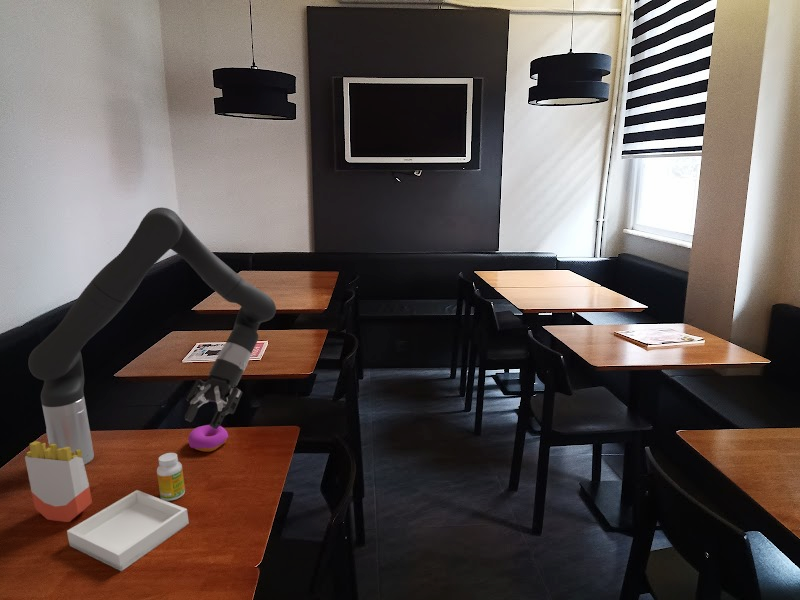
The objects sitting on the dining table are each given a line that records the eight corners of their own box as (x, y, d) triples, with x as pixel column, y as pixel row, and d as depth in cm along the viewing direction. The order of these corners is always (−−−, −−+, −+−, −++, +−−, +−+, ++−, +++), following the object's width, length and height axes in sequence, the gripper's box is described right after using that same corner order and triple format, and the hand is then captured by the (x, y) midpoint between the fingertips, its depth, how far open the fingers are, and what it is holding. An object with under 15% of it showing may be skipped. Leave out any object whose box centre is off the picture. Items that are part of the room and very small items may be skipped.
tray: (69, 545, 112) (66, 530, 111) (138, 503, 126) (136, 489, 125) (121, 571, 104) (118, 555, 104) (188, 523, 118) (186, 509, 117)
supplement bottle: (176, 502, 126) (171, 464, 123) (155, 500, 127) (150, 461, 125) (189, 489, 131) (185, 451, 129) (169, 487, 132) (164, 450, 130)
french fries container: (53, 506, 125) (39, 433, 121) (95, 511, 123) (82, 437, 119) (36, 518, 121) (21, 443, 117) (79, 523, 119) (66, 447, 115)
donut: (211, 457, 146) (209, 441, 145) (180, 450, 149) (178, 435, 148) (235, 439, 155) (234, 424, 154) (206, 433, 159) (204, 419, 157)
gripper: (201, 353, 142) (169, 412, 135) (243, 362, 135) (212, 424, 128) (218, 366, 148) (189, 424, 140) (259, 375, 141) (231, 435, 134)
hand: (200, 424), depth 134 cm, fingers open, 8 cm apart
